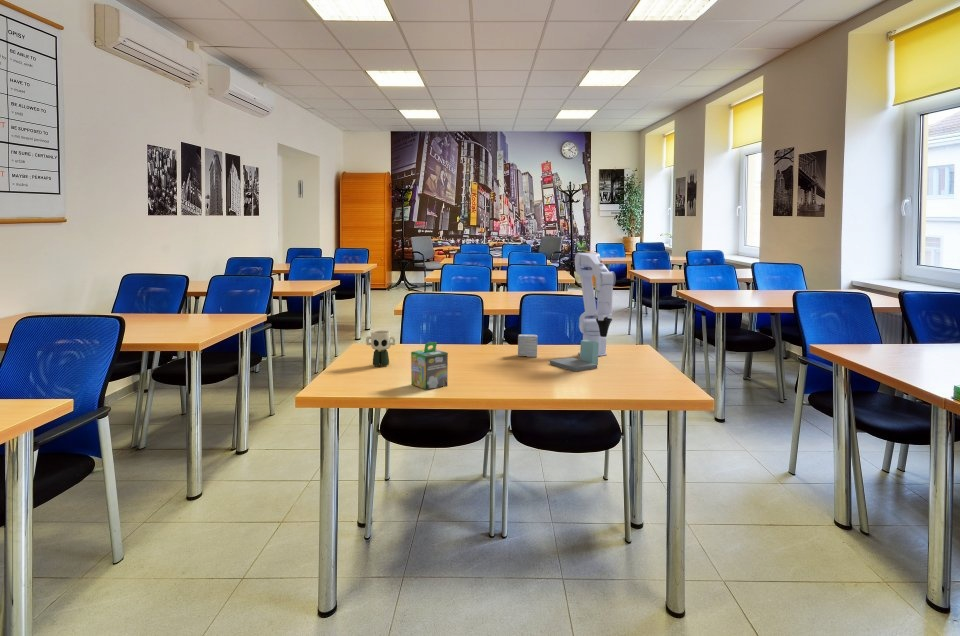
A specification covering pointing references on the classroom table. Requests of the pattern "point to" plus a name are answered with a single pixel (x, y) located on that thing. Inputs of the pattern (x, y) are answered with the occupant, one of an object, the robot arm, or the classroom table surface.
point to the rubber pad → (573, 364)
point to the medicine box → (527, 345)
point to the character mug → (380, 346)
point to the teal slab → (589, 351)
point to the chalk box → (429, 367)
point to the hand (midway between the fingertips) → (603, 336)
